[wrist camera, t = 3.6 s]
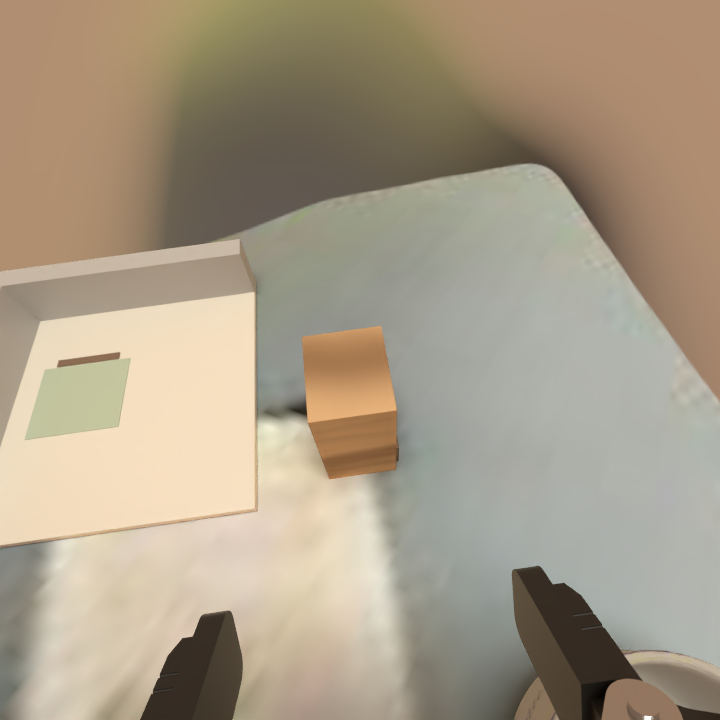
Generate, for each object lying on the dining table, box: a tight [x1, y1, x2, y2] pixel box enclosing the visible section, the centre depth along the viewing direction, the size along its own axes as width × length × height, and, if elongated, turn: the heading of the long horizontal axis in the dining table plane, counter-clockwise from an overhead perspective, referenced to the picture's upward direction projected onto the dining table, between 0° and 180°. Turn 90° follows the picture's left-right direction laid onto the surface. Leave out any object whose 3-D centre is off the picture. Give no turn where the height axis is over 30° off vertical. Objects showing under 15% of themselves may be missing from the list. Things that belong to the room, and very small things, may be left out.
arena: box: [0, 239, 257, 548], centre depth 32 cm, size 20×20×5 cm
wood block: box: [302, 326, 399, 479], centre depth 27 cm, size 5×5×9 cm
